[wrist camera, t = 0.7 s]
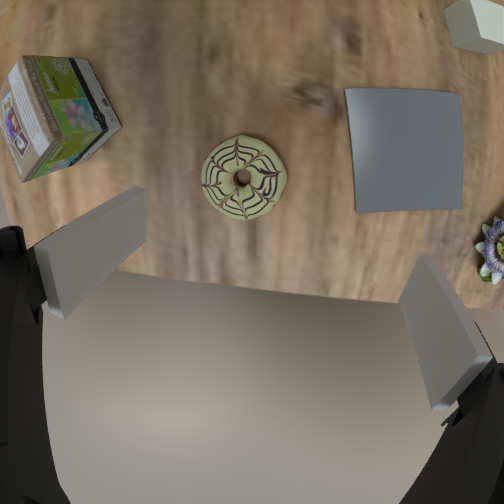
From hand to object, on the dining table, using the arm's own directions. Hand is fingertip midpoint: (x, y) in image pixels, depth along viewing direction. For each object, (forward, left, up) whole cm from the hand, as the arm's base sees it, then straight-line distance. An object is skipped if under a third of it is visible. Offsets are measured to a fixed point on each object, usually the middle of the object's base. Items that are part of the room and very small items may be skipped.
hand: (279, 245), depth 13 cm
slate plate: (-1, +15, -26) cm, 30 cm away
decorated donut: (+1, -7, -26) cm, 27 cm away
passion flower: (+13, +32, -26) cm, 43 cm away
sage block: (-19, +27, -26) cm, 42 cm away
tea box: (-15, -31, -26) cm, 43 cm away
